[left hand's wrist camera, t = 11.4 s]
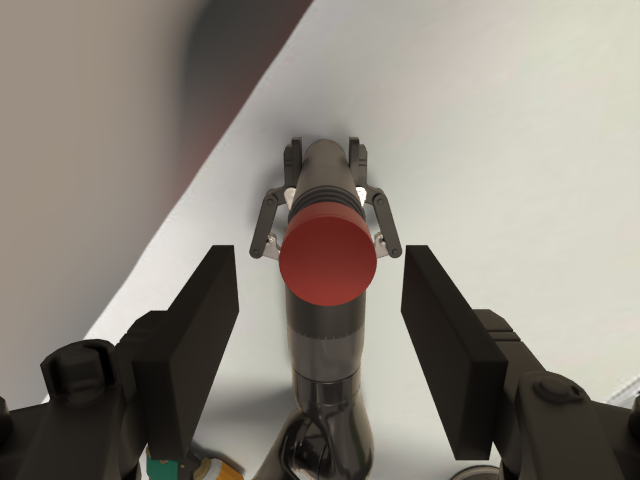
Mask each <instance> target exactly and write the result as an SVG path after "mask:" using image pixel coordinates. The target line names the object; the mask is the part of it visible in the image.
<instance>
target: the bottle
mask: <svg viewBox="0 0 640 480" xmlns="http://www.w3.org/2000/svg"><path fill="white" fill-rule="evenodd" d="M320 202H335V203H340V204H343V205H345V206H348V207H350V208H351V209H353V210H354V211H356V212H357V213H358V214H359V215H360V216H361V217H362V218H363V220H364V221H365V223H366V217H365V212H364V209H363V206H362V203H361V201H360V198H359V195H358V192H357V189H356V186H355V183H354V180H353V177H352V174H351V171H350V168H349V165H348V162H347V159H346V157H345V154H344V151H343V149H342V148H341V147H340V146H339V145H338V144H337V143H335V142H334V141H331V140H320V141H317V142H315V143H313V144H312V145H311V146H310V147H309V148H308V150H307V152H306V155H305V159H304V162H303V166H302V169H301V173H300V176H299V180H298V183H297V187H296V191H295V194H294V198H293V201H292V205H291V208H290V212H289V216H288V224H289V223H290V221H291V220H292V218H293V217H294V216H295V215H296V214H297V213H298V212H299V211H301V210H302V209H304V208H306V207H307V206H310V205H312V204H315V203H320Z"/></svg>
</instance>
